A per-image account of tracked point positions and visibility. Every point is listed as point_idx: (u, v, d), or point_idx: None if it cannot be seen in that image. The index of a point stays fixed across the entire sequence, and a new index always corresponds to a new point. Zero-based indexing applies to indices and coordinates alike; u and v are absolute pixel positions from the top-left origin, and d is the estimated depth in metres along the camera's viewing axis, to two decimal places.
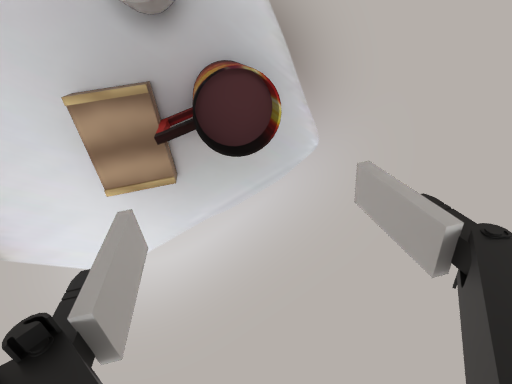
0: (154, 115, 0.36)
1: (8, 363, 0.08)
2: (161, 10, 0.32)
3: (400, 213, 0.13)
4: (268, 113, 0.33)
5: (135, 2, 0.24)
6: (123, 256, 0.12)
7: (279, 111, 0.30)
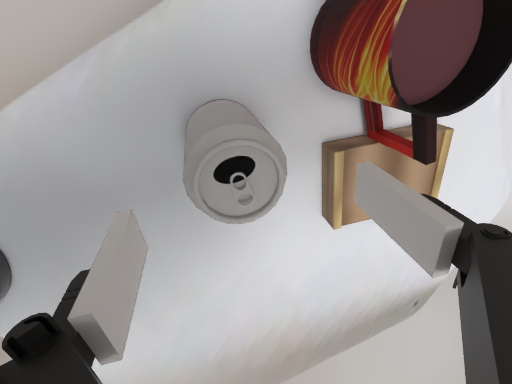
0: (368, 146, 0.29)
1: (8, 363, 0.08)
2: None
3: (400, 213, 0.13)
4: None
5: (286, 172, 0.20)
6: (123, 256, 0.12)
7: None
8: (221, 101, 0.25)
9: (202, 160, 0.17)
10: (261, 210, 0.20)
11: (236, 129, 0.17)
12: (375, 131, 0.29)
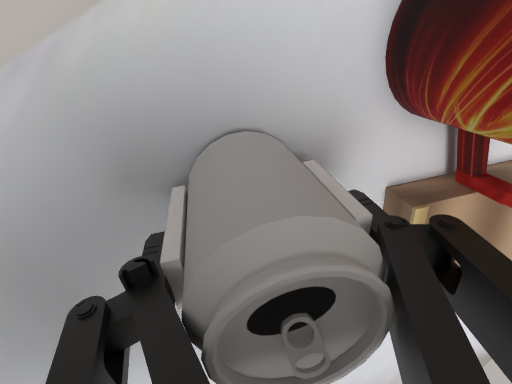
0: (462, 197, 0.19)
1: (114, 298, 0.10)
2: None
3: None
4: None
5: None
6: None
7: None
8: (246, 135, 0.15)
9: (226, 313, 0.07)
10: (336, 369, 0.10)
11: (300, 230, 0.08)
12: (474, 176, 0.19)
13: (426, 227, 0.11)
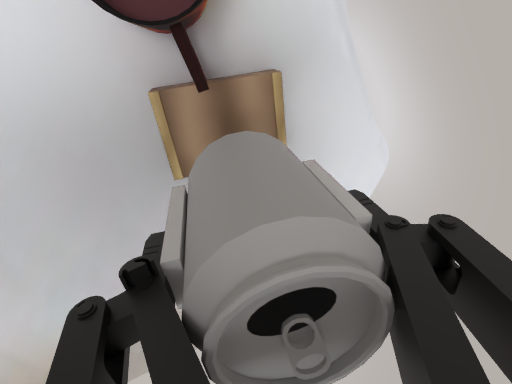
0: (187, 87, 0.28)
1: (114, 298, 0.10)
2: None
3: None
4: None
5: None
6: None
7: None
8: (247, 135, 0.15)
9: (226, 313, 0.07)
10: (336, 370, 0.10)
11: (300, 230, 0.08)
12: None
13: (426, 227, 0.11)
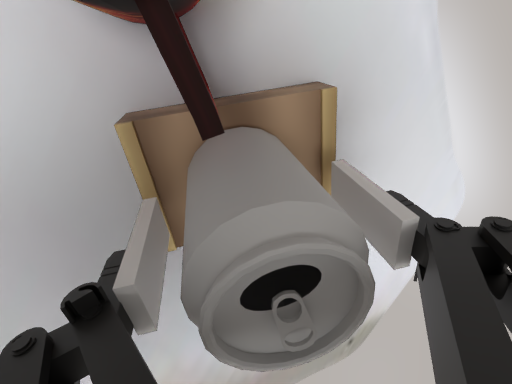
0: (181, 115, 0.17)
1: (61, 328, 0.09)
2: None
3: (367, 209, 0.13)
4: None
5: None
6: (152, 238, 0.13)
7: None
8: (242, 131, 0.16)
9: (220, 286, 0.08)
10: (323, 345, 0.11)
11: (288, 213, 0.09)
12: None
13: (477, 229, 0.11)
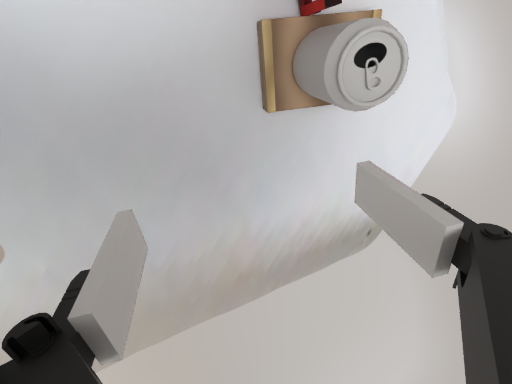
0: (296, 18, 0.30)
1: (8, 363, 0.08)
2: (357, 51, 0.31)
3: (400, 213, 0.13)
4: None
5: None
6: (123, 256, 0.12)
7: None
8: None
9: (352, 40, 0.21)
10: (382, 97, 0.24)
11: (376, 21, 0.22)
12: (304, 5, 0.30)
13: None
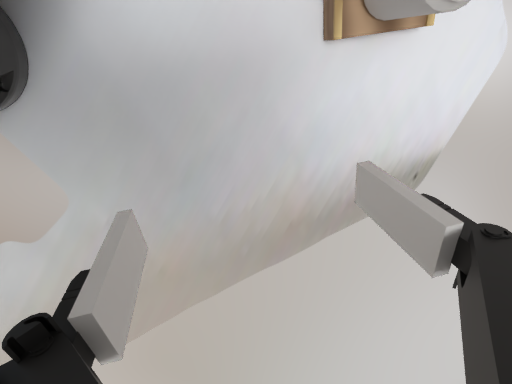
0: None
1: (8, 363, 0.08)
2: None
3: (400, 213, 0.13)
4: None
5: None
6: (123, 256, 0.12)
7: None
8: None
9: None
10: None
11: None
12: None
13: None
